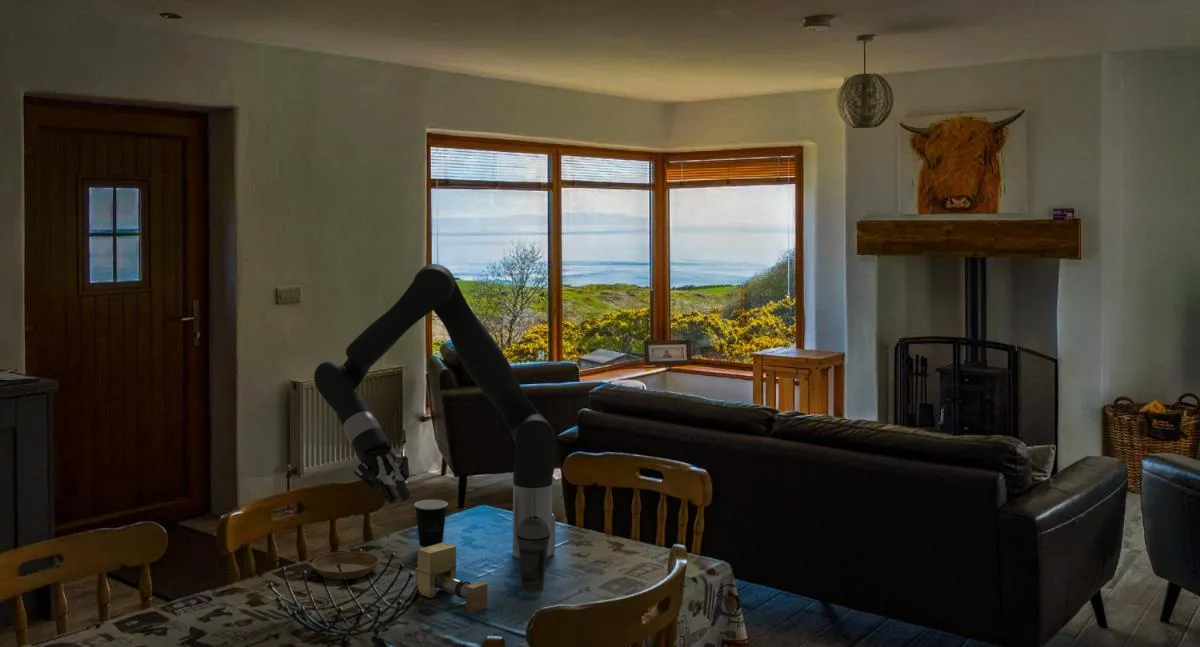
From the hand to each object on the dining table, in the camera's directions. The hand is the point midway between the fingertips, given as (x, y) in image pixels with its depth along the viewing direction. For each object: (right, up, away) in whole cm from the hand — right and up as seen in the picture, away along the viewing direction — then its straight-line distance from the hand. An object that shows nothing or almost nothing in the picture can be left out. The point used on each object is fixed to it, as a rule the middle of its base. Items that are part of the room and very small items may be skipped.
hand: (400, 499), depth 235 cm
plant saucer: (-13, -18, +7) cm, 23 cm away
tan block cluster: (+12, -19, -9) cm, 25 cm away
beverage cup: (+29, -19, -1) cm, 35 cm away
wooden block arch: (+9, -19, -7) cm, 22 cm away
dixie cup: (+3, -16, +25) cm, 30 cm away
